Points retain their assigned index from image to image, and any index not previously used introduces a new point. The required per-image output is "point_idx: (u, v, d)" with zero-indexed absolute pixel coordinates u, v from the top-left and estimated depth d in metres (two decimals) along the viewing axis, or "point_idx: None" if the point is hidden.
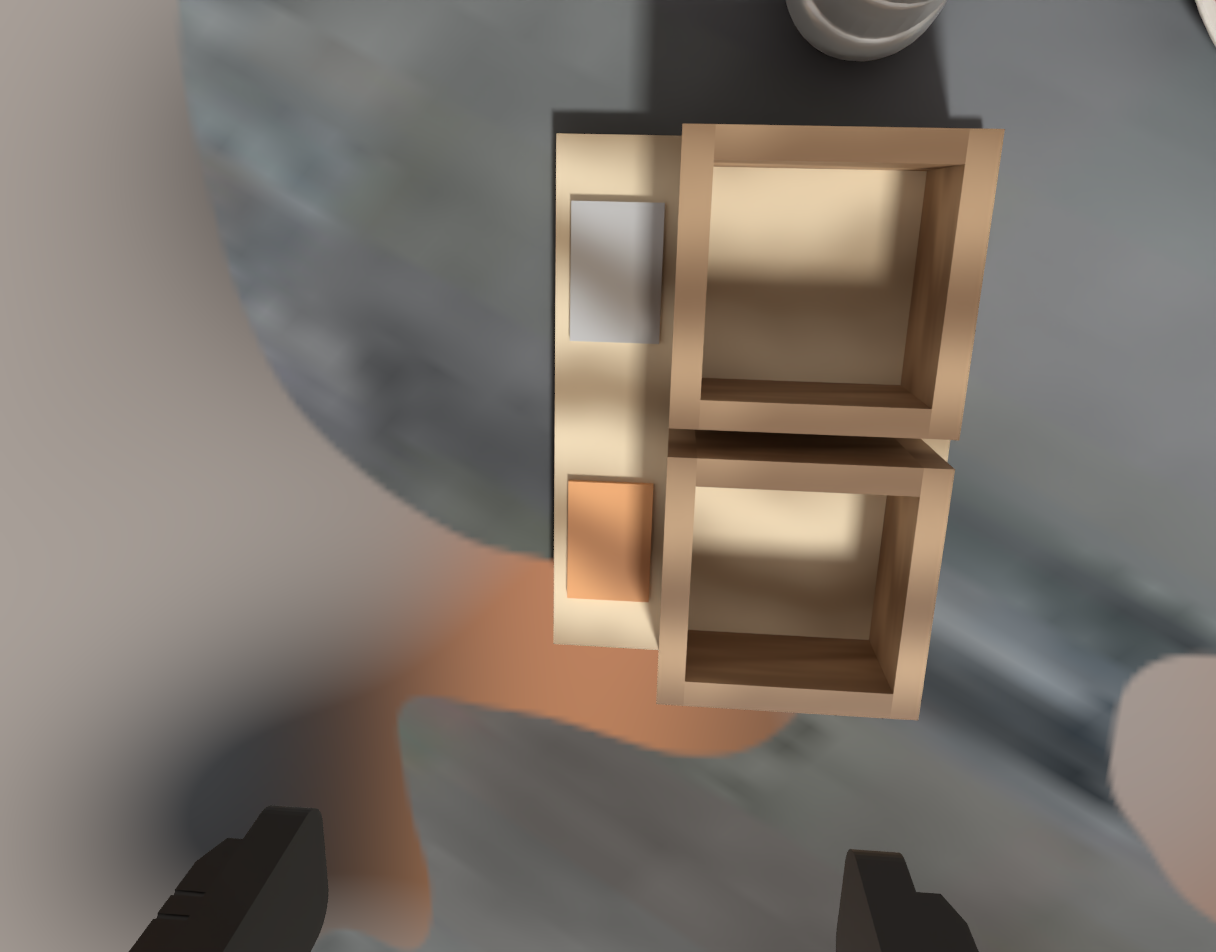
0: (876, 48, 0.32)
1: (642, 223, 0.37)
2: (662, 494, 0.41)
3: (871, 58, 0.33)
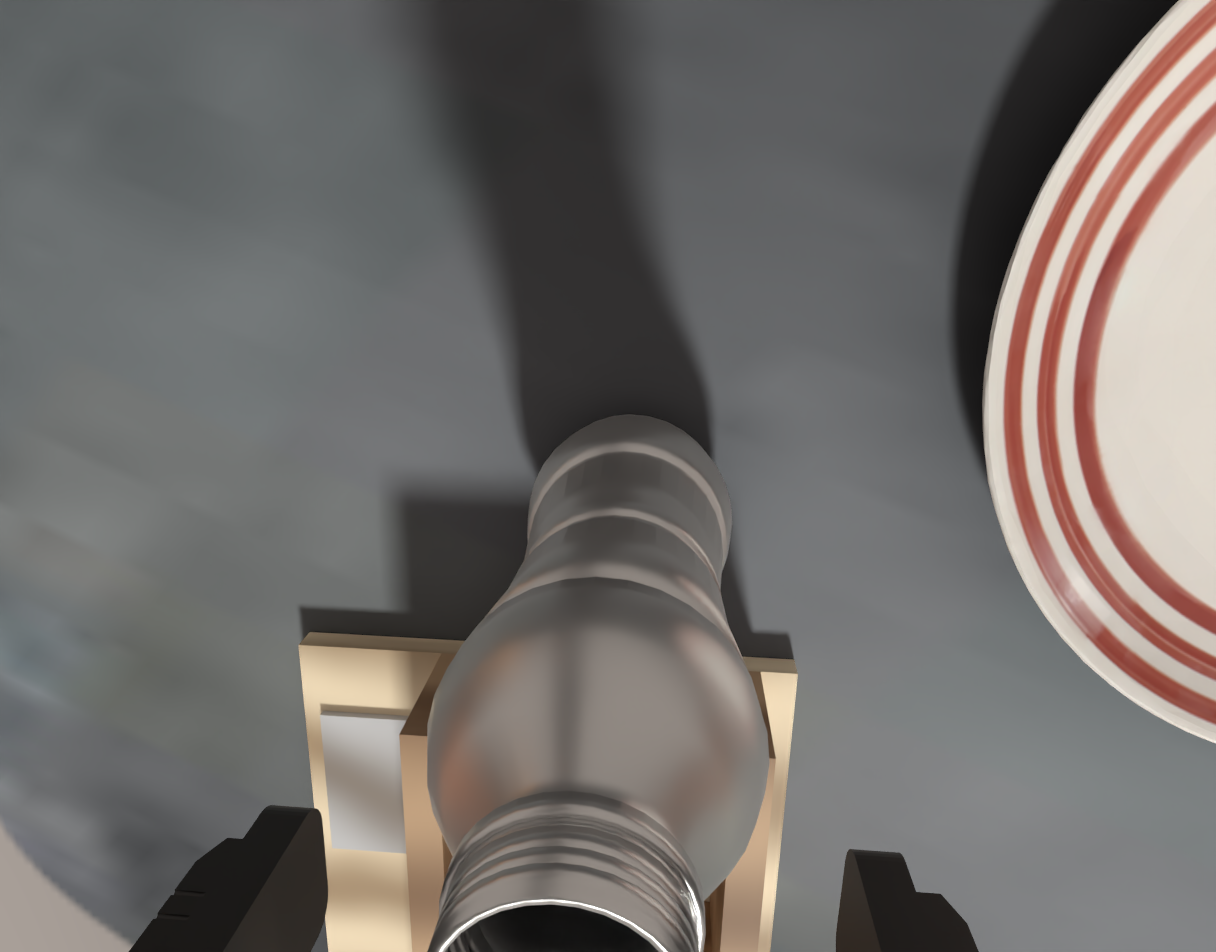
0: None
1: None
2: None
3: None
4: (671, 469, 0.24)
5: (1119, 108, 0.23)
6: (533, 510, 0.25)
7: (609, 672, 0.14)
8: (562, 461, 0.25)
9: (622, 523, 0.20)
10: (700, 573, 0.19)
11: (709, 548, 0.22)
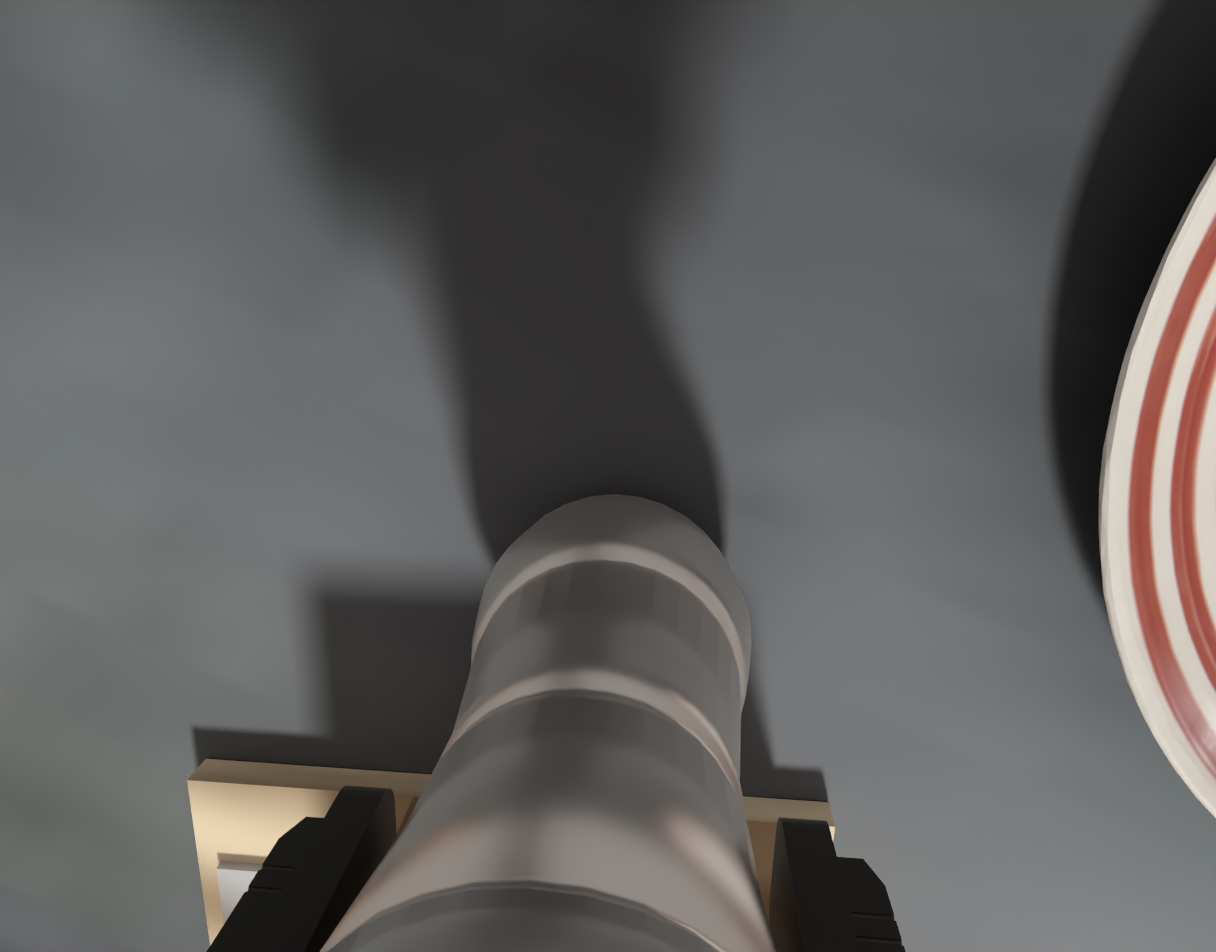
0: None
1: None
2: None
3: None
4: (668, 588, 0.17)
5: None
6: (477, 636, 0.18)
7: None
8: (517, 568, 0.18)
9: (590, 711, 0.12)
10: (713, 799, 0.12)
11: (724, 720, 0.15)
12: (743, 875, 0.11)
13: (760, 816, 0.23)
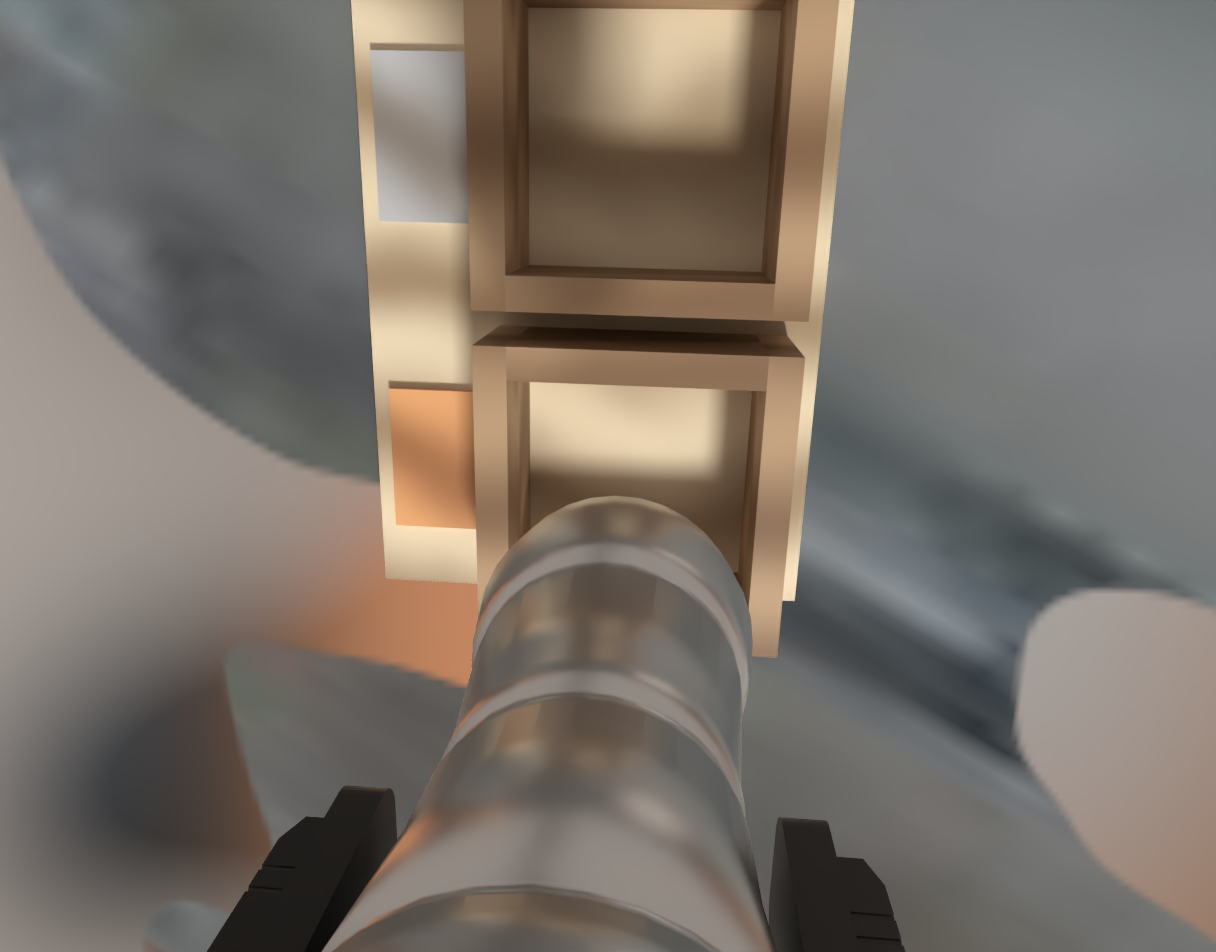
0: None
1: (453, 77, 0.32)
2: None
3: None
4: (669, 590, 0.17)
5: None
6: (478, 638, 0.18)
7: None
8: (518, 570, 0.18)
9: (591, 713, 0.12)
10: (714, 802, 0.12)
11: (725, 722, 0.15)
12: (744, 879, 0.11)
13: None
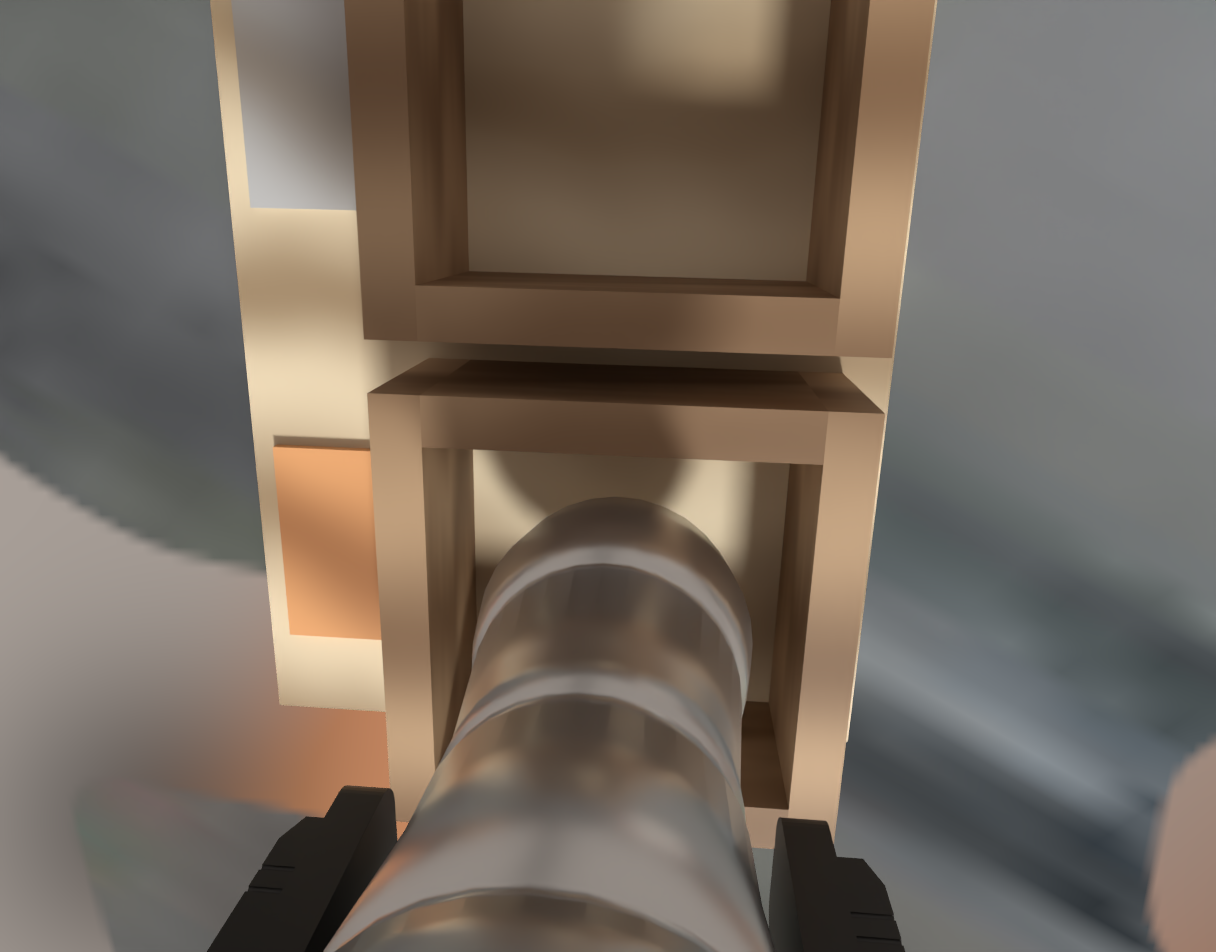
0: None
1: None
2: None
3: None
4: (669, 591, 0.17)
5: None
6: (477, 639, 0.18)
7: None
8: (518, 571, 0.18)
9: (591, 715, 0.12)
10: (713, 804, 0.12)
11: (725, 724, 0.15)
12: (743, 880, 0.11)
13: None
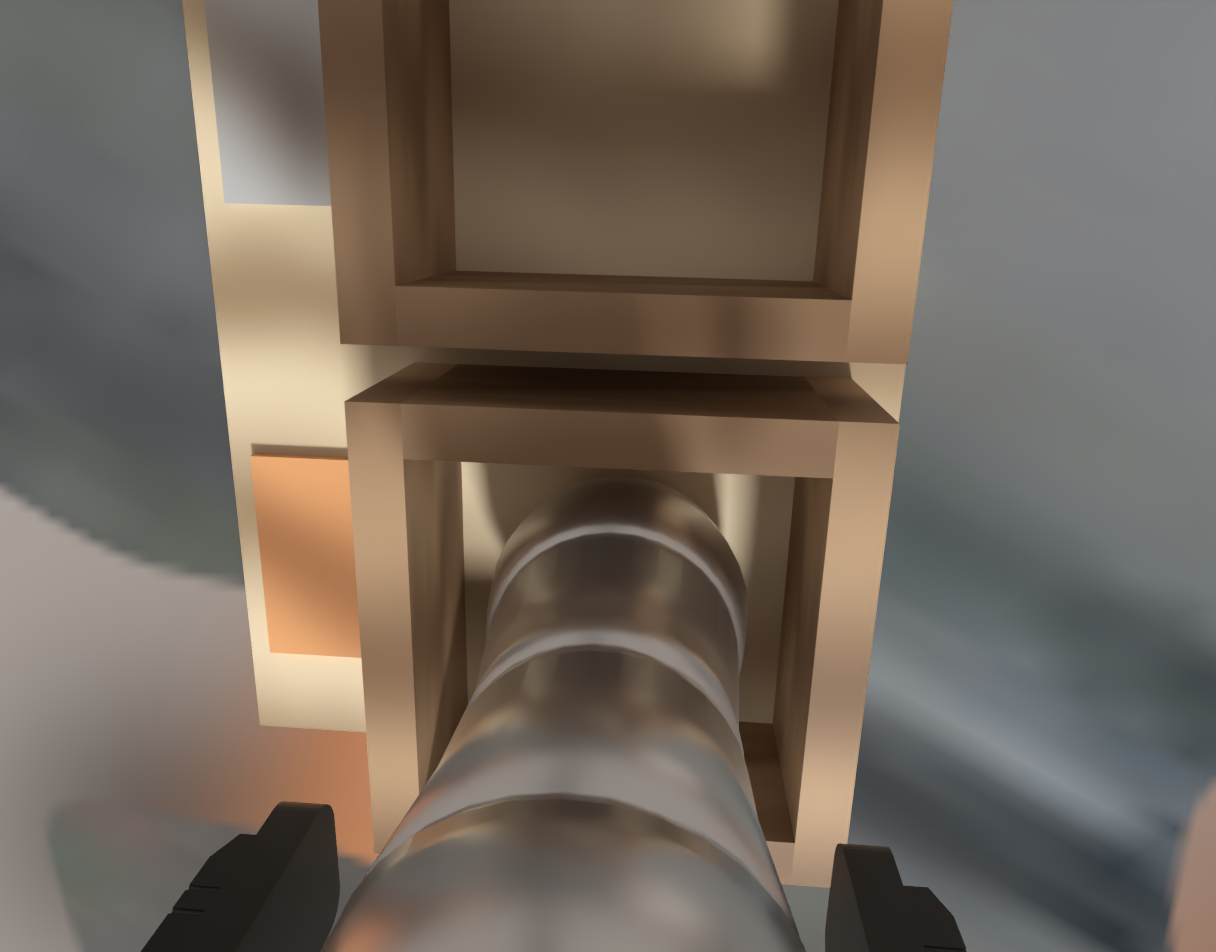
0: None
1: None
2: None
3: None
4: (671, 558, 0.18)
5: None
6: (492, 606, 0.19)
7: None
8: (529, 543, 0.19)
9: (605, 661, 0.14)
10: (717, 738, 0.13)
11: (724, 676, 0.16)
12: (744, 801, 0.12)
13: None
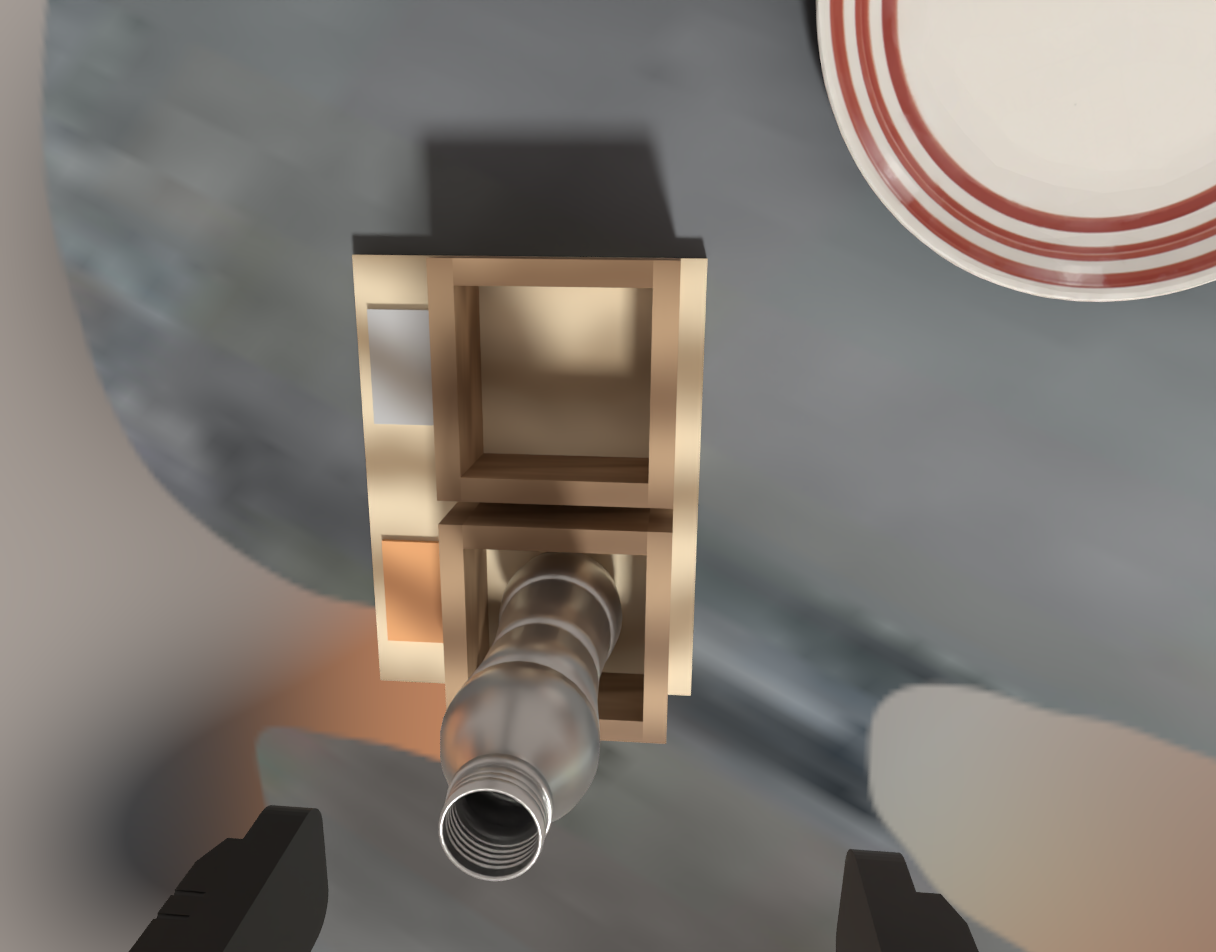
0: None
1: (426, 327, 0.44)
2: None
3: None
4: (578, 589, 0.42)
5: None
6: (501, 611, 0.43)
7: (518, 705, 0.32)
8: (518, 583, 0.43)
9: (541, 628, 0.38)
10: (580, 654, 0.37)
11: (594, 637, 0.40)
12: (584, 672, 0.36)
13: None
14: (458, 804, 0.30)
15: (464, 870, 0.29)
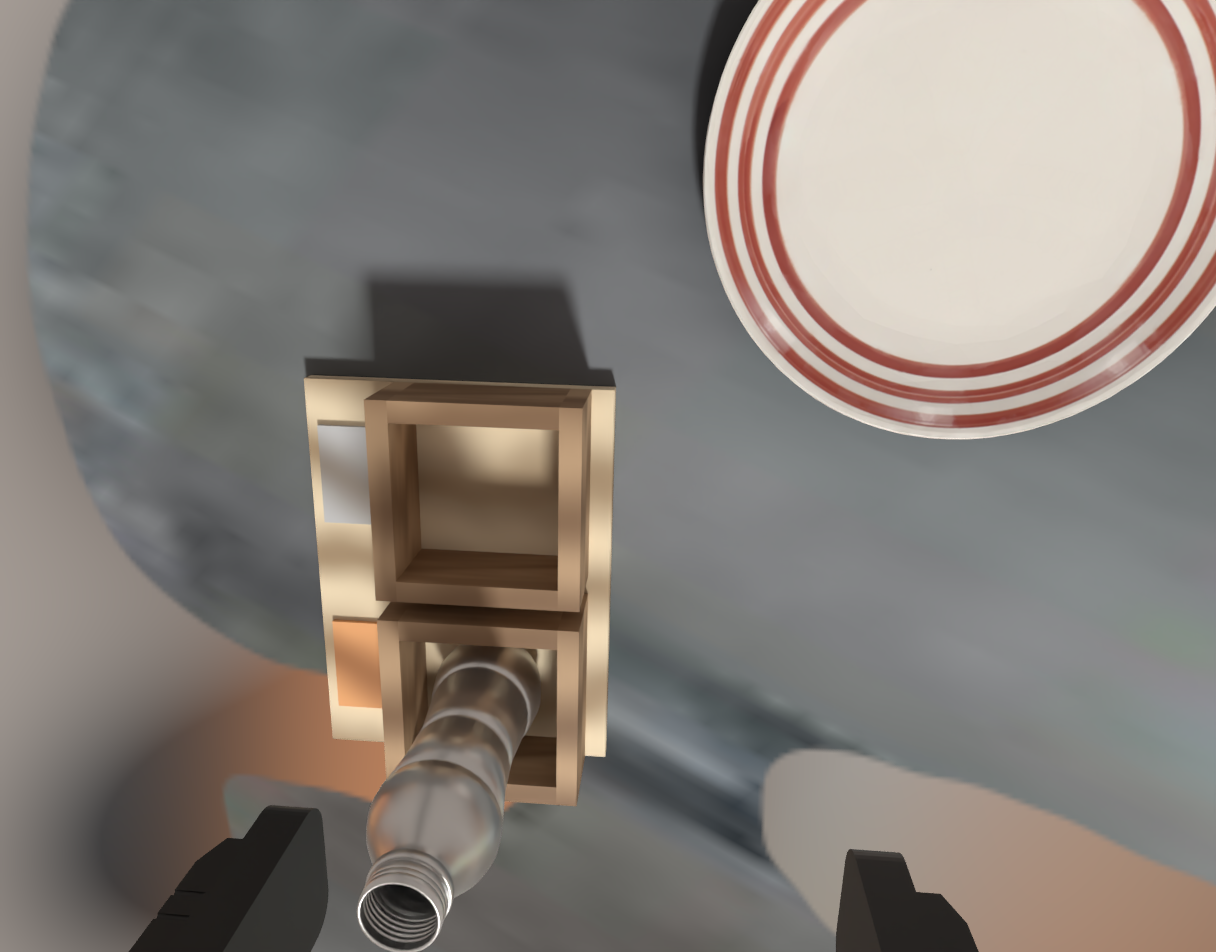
0: None
1: None
2: None
3: None
4: (498, 677, 0.49)
5: (760, 26, 0.41)
6: (433, 693, 0.50)
7: (429, 803, 0.38)
8: (447, 668, 0.50)
9: (459, 721, 0.44)
10: (491, 745, 0.44)
11: (508, 723, 0.46)
12: (493, 763, 0.42)
13: (580, 388, 0.49)
14: (376, 887, 0.37)
15: (378, 944, 0.36)
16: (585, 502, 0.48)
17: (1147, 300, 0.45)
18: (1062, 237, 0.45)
